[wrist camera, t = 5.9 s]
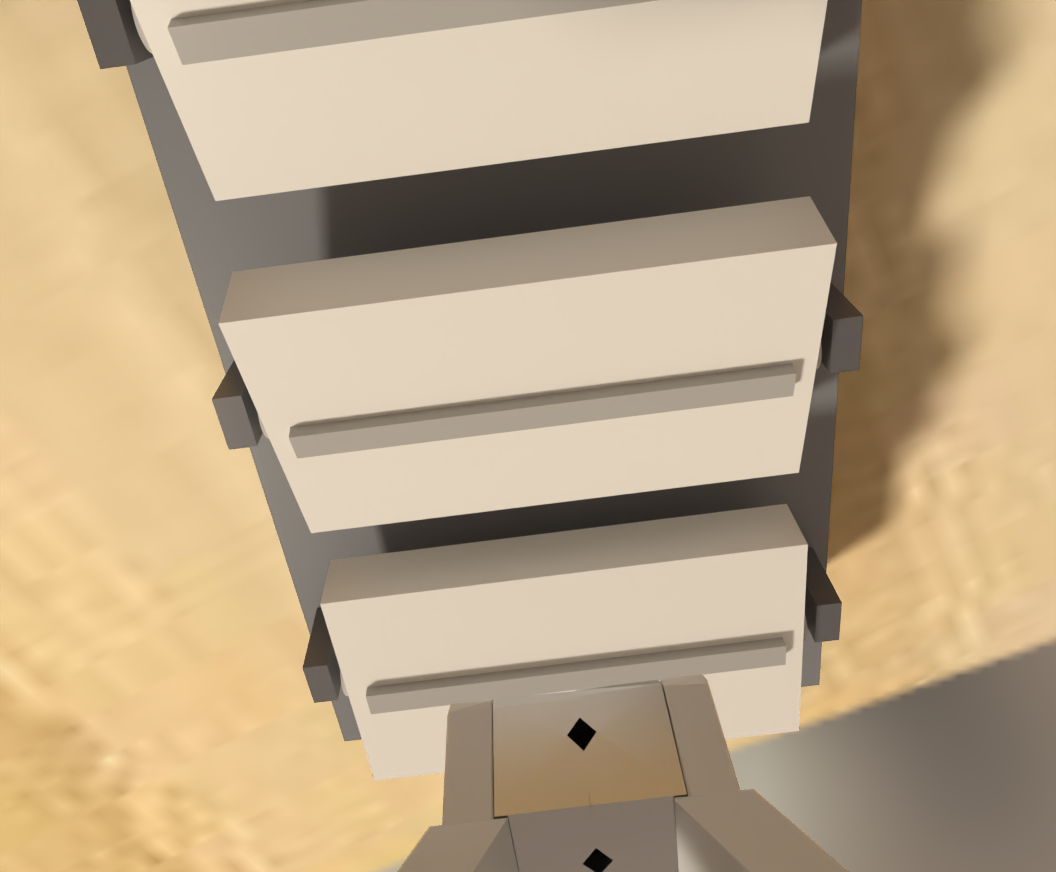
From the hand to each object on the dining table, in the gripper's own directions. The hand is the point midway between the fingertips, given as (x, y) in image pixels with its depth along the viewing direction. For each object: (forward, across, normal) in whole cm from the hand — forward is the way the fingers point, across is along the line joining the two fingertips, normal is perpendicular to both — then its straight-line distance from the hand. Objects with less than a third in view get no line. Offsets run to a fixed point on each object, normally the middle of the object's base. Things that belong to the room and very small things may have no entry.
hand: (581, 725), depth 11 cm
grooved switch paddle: (+9, 0, +8) cm, 12 cm away
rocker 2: (+9, 0, 0) cm, 9 cm away
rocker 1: (+9, 0, -8) cm, 12 cm away
